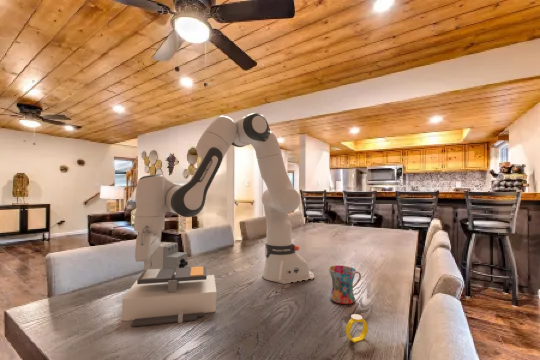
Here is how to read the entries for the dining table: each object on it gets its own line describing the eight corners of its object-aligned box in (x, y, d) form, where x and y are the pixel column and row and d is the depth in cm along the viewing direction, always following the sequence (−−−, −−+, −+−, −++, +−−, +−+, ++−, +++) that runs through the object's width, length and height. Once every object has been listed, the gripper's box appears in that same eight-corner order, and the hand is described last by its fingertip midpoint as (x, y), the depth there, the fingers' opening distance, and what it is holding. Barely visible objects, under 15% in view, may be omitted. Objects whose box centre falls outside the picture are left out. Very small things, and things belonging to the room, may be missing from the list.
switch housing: (213, 291, 94) (214, 265, 95) (215, 311, 79) (216, 279, 79) (136, 297, 88) (137, 269, 88) (121, 321, 72) (123, 286, 73)
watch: (351, 347, 63) (350, 322, 63) (344, 340, 65) (343, 317, 65) (370, 339, 65) (369, 316, 65) (362, 334, 68) (361, 311, 68)
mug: (337, 308, 83) (337, 274, 83) (323, 296, 92) (323, 266, 92) (369, 303, 86) (369, 271, 87) (352, 293, 95) (352, 264, 95)
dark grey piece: (204, 314, 77) (204, 308, 77) (204, 320, 74) (204, 313, 74) (133, 322, 72) (133, 315, 72) (130, 328, 69) (130, 321, 69)
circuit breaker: (180, 287, 98) (181, 247, 98) (147, 284, 100) (148, 245, 101) (190, 280, 105) (191, 243, 105) (159, 277, 108) (160, 241, 108)
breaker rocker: (206, 270, 91) (206, 265, 91) (206, 280, 81) (206, 275, 81) (144, 274, 86) (144, 269, 86) (137, 285, 76) (137, 279, 76)
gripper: (154, 229, 73) (152, 278, 73) (164, 220, 93) (163, 259, 92) (129, 229, 71) (127, 280, 71) (145, 220, 91) (144, 260, 91)
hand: (148, 268), depth 82 cm, fingers closed
